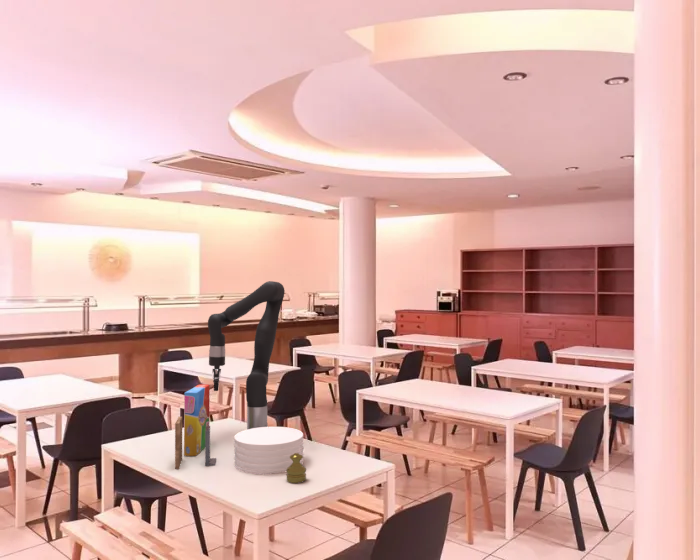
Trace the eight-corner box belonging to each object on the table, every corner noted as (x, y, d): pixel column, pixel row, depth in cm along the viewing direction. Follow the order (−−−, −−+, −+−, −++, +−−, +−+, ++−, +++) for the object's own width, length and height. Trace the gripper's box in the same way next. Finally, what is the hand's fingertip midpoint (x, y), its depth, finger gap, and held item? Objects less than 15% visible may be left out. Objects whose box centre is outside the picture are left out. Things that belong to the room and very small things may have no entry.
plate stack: (230, 456, 237) (230, 429, 238) (294, 450, 247) (294, 424, 247) (239, 478, 211) (239, 447, 211) (310, 469, 220) (310, 440, 220)
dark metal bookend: (216, 459, 234) (216, 425, 234) (215, 465, 225) (215, 430, 225) (206, 459, 233) (206, 426, 233) (205, 466, 224) (205, 431, 225)
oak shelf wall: (182, 459, 233) (182, 416, 233) (179, 468, 221) (179, 423, 221) (178, 459, 233) (178, 416, 233) (175, 469, 221) (175, 423, 221)
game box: (196, 456, 237) (196, 392, 237) (183, 456, 237) (183, 392, 237) (209, 442, 258) (209, 384, 258) (197, 442, 258) (198, 384, 258)
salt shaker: (289, 484, 203) (289, 457, 203) (283, 478, 210) (283, 451, 210) (308, 482, 206) (308, 454, 206) (302, 475, 213) (302, 449, 213)
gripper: (225, 357, 260) (224, 392, 260) (225, 353, 274) (224, 386, 274) (208, 357, 258) (207, 392, 258) (209, 353, 272) (208, 386, 272)
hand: (216, 389), depth 266 cm, fingers open, 8 cm apart
